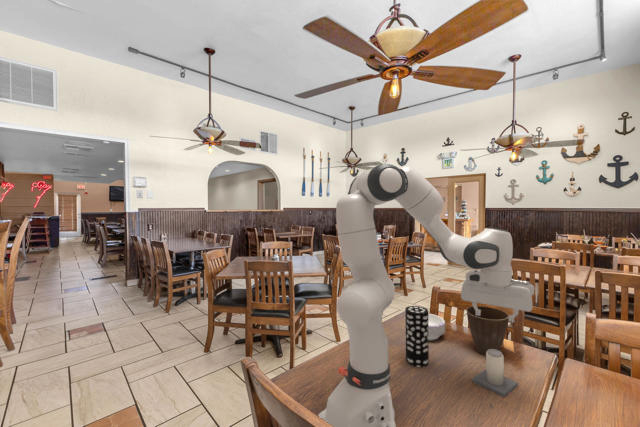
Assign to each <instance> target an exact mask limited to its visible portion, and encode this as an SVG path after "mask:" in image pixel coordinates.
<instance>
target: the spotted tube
mask: <svg viewBox="0 0 640 427" xmlns="http://www.w3.org/2000/svg"><path fill="white" fill-rule="evenodd" d="M404 310H405V361H406V363H407V364H408V365H410V366H412V367H416V368H425V367H427V366H429V364H430V363H429V353H430V352H429V350H430V349H429V340H428V313H429V310H428V308H427V307H423V306H420V305H419V306H417V305H410V306H406V307H405V309H404Z"/></svg>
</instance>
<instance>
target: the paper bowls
mask: <svg viewBox="0 0 640 427" xmlns="http://www.w3.org/2000/svg"><path fill="white" fill-rule="evenodd" d="M445 333H446V321H445V319H444V318H442V317H441V316H439V315H437V314H433V313H429V312H428V341H436V340H438V339H439V338H440V336H442V335H444V334H445Z"/></svg>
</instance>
